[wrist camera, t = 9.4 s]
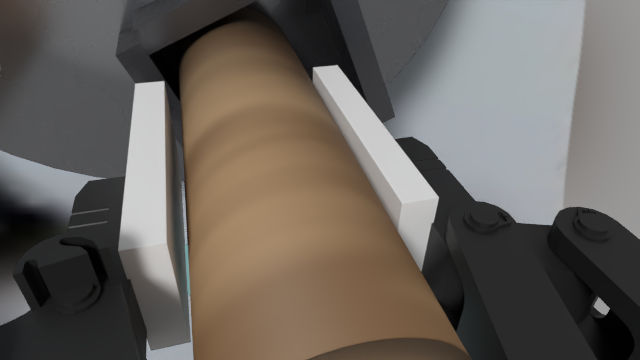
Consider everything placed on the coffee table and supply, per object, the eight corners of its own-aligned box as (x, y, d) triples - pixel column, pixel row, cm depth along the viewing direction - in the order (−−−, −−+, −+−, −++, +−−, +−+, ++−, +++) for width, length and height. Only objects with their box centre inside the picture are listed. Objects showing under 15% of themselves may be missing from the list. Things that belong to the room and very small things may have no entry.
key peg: (311, 80, 18) (540, 479, 7) (220, 133, 18) (301, 593, 7) (257, -18, 15) (484, 372, 4) (152, 46, 15) (120, 556, 5)
